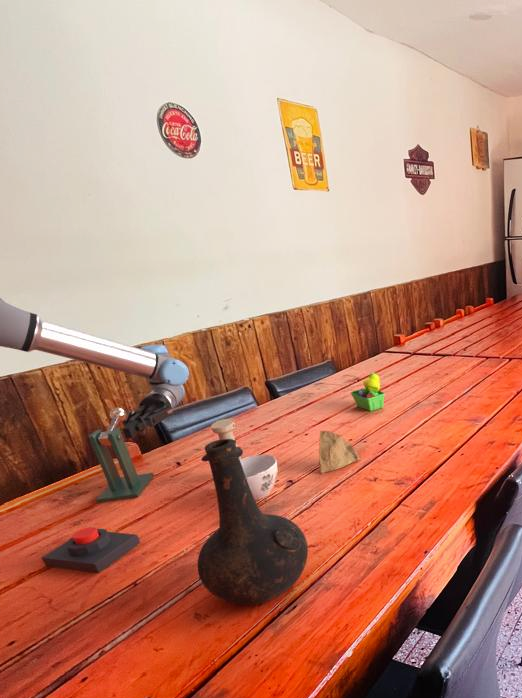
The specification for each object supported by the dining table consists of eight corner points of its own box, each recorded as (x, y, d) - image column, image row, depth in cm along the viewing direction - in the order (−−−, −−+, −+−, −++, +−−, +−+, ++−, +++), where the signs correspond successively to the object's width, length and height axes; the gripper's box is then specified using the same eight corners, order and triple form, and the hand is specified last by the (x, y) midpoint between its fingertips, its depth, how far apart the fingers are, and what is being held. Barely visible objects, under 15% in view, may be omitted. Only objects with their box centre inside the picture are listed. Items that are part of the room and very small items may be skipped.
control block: (45, 566, 100) (36, 549, 99) (90, 537, 109) (83, 522, 107) (98, 573, 98) (90, 556, 96) (140, 543, 106) (134, 527, 105)
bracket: (117, 481, 133) (94, 425, 126) (154, 476, 135) (133, 420, 128) (97, 504, 123) (70, 444, 116) (138, 498, 124) (114, 438, 118)
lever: (115, 417, 132) (109, 405, 130) (131, 415, 133) (124, 404, 130) (100, 449, 123) (93, 437, 120) (116, 447, 123) (109, 435, 121)
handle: (224, 483, 129) (207, 429, 122) (233, 472, 135) (217, 419, 128) (243, 482, 129) (228, 427, 123) (251, 470, 135) (236, 418, 128)
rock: (361, 445, 141) (324, 444, 140) (359, 429, 133) (319, 427, 132) (358, 481, 136) (319, 479, 135) (355, 466, 128) (314, 465, 127)
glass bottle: (283, 625, 82) (238, 471, 70) (185, 616, 85) (126, 467, 73) (331, 558, 98) (301, 423, 86) (247, 553, 101) (206, 421, 89)
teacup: (244, 482, 129) (235, 454, 125) (292, 482, 128) (285, 453, 125) (212, 514, 116) (202, 483, 112) (265, 513, 115) (257, 482, 111)
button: (70, 544, 101) (66, 537, 100) (88, 533, 104) (85, 526, 103) (86, 546, 100) (83, 539, 99) (104, 535, 103) (101, 527, 102)
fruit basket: (351, 406, 178) (346, 374, 173) (373, 399, 184) (368, 369, 179) (369, 413, 171) (364, 380, 166) (391, 406, 176) (386, 374, 171)
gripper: (184, 413, 157) (159, 443, 136) (138, 419, 154) (105, 450, 134) (177, 390, 154) (149, 416, 133) (129, 395, 151) (94, 423, 130)
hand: (127, 433), depth 133 cm, fingers closed
